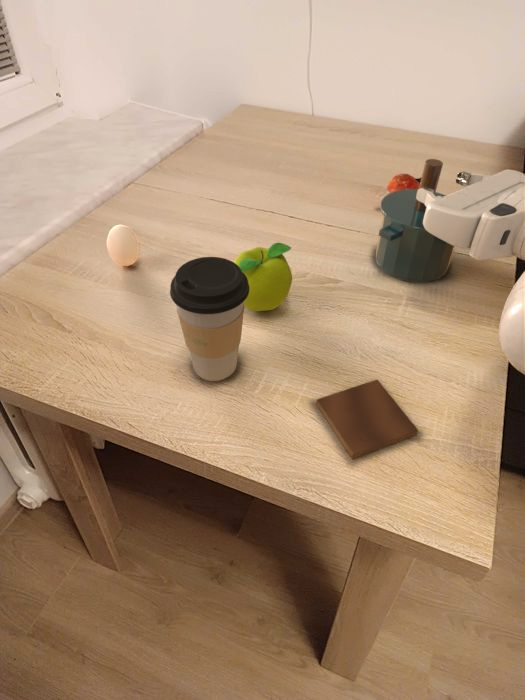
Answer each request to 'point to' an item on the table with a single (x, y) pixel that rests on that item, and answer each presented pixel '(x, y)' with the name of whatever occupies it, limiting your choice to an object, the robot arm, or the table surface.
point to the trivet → (366, 418)
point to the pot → (411, 253)
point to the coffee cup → (211, 313)
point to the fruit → (265, 276)
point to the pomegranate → (403, 183)
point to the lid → (412, 200)
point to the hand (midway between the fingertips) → (440, 183)
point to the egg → (123, 245)
